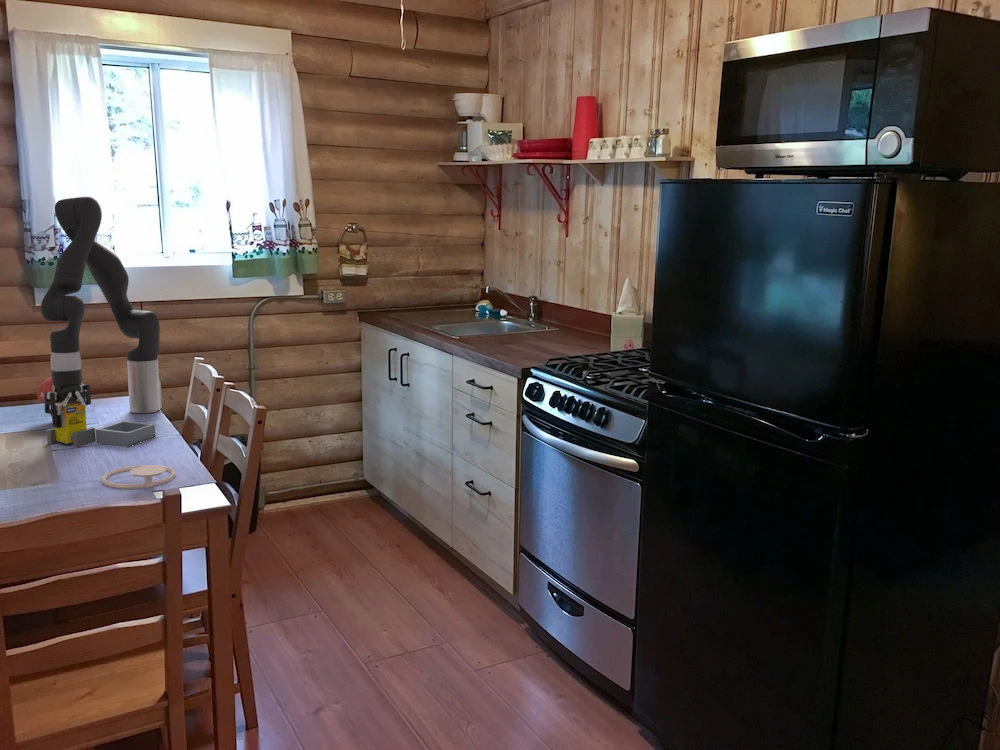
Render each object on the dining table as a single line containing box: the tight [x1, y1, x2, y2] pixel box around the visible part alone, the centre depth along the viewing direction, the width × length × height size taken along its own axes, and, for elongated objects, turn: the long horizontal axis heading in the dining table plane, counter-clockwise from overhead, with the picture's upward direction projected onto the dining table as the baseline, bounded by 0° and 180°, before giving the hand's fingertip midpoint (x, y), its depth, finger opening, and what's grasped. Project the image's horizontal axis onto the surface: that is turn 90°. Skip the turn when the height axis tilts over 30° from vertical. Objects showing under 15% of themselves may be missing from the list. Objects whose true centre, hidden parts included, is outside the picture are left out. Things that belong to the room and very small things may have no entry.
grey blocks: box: [46, 427, 96, 448], centre depth 232 cm, size 7×10×4 cm
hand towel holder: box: [101, 464, 177, 490], centre depth 202 cm, size 17×4×21 cm
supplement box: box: [55, 403, 88, 447], centre depth 232 cm, size 6×6×11 cm
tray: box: [95, 420, 156, 448], centre depth 236 cm, size 11×11×4 cm
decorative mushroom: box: [36, 376, 83, 418], centre depth 253 cm, size 13×13×15 cm
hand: (69, 424), depth 231 cm, fingers open, 8 cm apart
